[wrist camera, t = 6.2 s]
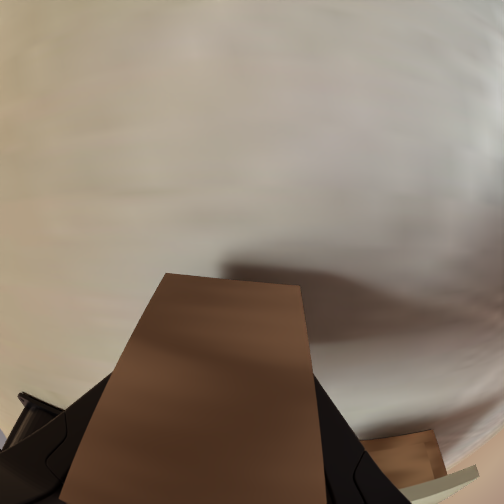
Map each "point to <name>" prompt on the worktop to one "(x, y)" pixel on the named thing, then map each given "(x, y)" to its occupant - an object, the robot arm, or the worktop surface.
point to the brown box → (408, 458)
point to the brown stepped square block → (207, 403)
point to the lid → (440, 487)
